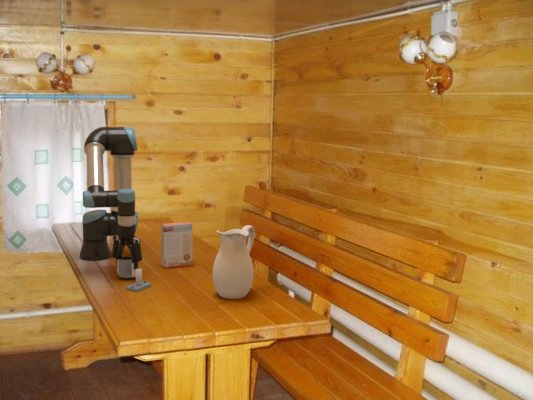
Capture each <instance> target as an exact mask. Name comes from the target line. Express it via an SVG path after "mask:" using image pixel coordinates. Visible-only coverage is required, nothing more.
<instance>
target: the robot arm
mask: <svg viewBox="0 0 533 400" xmlns="http://www.w3.org/2000/svg"><path fill="white" fill-rule="evenodd" d="M83 150H84V154H85V155H86V190H84V191H82V207H84V208H87V209H88V208H89V209H95V210H89V211H86V212H84V213H83V215H82V221H81V224H82V245H81V248H80V252H79V258H80V260H84V261H103V260H108V259H110V258H111V257H112V258H114V259H115V265H116V266H117V267H116V269H117V270H116V272H117V275H119V268H118V257H121V256H123V253H124V251H125V247H126V246H127V248H128V250H129V253H130V256H131V257H132V260H133V262H132V278H136V269H139V262H142V261H143V256H142V248H141V241H142V240H141V238H136V235H135V234H136V232H137V227H138V223H139V222H138V220H139V214H138V212H137V211H136V191H135V190H134V189H132V186H133V185H132V158H133V157H134V156H135V152H137V151H138V143H137V137H136V131H135V129H134V128H133V127H131V126H130V127H127V126H100V127H97V128H95V129H93V130H92V131H91V132H90V133H89V134H88V135H87V137H86V139H85V141H84V145H83ZM105 152H109V155H110V157H112V158H113V159H112V160H113V190H105V175H104V174H105V173H104V154H105ZM96 208H97V209H96ZM98 208H110V212H108V211H107V210H106V209H98ZM108 237H112V240H113V245H112V251H111V250H110V246H109V243H108ZM135 259H136V260H135Z"/></svg>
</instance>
